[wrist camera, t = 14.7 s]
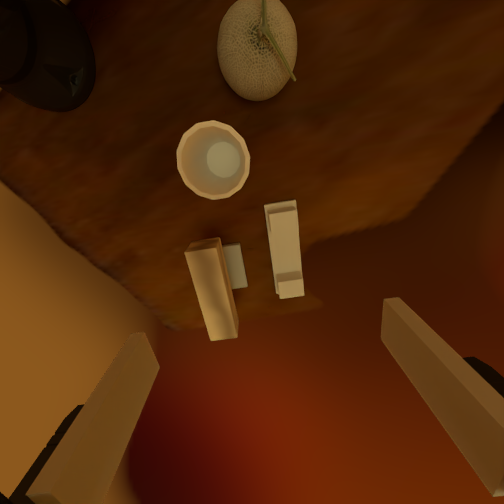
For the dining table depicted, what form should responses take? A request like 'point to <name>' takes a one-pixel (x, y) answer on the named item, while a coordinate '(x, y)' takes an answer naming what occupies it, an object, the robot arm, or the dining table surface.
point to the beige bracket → (285, 247)
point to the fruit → (257, 48)
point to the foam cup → (213, 160)
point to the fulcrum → (235, 265)
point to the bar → (213, 287)
